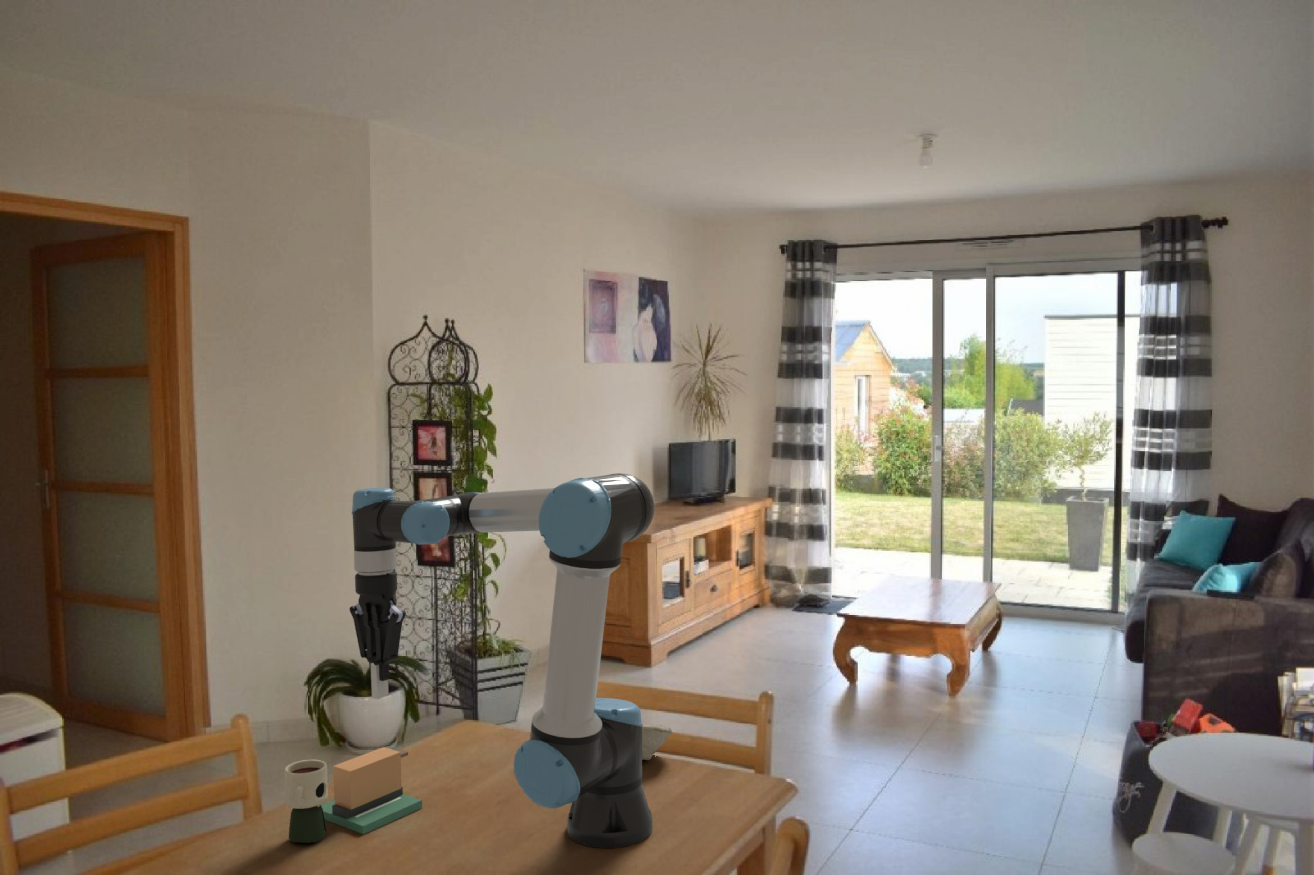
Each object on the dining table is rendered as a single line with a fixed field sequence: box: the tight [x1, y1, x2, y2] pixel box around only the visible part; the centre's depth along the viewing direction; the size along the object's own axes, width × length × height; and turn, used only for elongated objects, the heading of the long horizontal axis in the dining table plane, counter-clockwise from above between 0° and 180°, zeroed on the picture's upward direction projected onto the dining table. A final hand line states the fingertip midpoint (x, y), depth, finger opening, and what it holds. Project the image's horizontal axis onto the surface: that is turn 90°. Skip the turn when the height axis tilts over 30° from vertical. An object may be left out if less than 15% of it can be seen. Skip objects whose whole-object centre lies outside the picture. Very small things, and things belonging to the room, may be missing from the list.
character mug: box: [283, 759, 329, 844], centre depth 181 cm, size 11×7×13 cm, turn 5°
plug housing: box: [332, 746, 409, 809], centre depth 194 cm, size 5×15×7 cm, turn 145°
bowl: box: [642, 723, 673, 761], centre depth 217 cm, size 15×14×10 cm
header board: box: [320, 786, 423, 835], centre depth 192 cm, size 14×14×7 cm
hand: (380, 696), depth 193 cm, fingers closed
